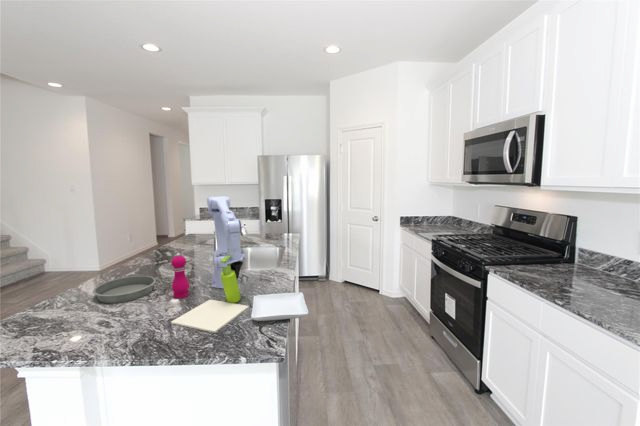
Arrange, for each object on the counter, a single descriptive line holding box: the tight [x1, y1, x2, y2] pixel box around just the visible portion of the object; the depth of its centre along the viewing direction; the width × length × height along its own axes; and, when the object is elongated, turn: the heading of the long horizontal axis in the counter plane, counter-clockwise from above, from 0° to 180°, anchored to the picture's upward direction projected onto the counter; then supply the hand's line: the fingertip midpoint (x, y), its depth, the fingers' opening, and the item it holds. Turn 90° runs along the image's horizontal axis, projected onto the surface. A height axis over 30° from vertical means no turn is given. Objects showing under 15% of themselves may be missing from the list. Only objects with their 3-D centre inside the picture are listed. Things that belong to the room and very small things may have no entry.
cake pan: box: [92, 275, 156, 304], centre depth 141 cm, size 25×25×4 cm
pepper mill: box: [170, 252, 190, 299], centre depth 136 cm, size 7×7×20 cm
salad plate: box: [250, 291, 309, 322], centre depth 122 cm, size 21×21×3 cm
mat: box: [170, 299, 250, 334], centre depth 119 cm, size 20×21×1 cm
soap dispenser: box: [221, 255, 242, 304], centre depth 128 cm, size 6×7×20 cm
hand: (235, 278), depth 132 cm, fingers closed
